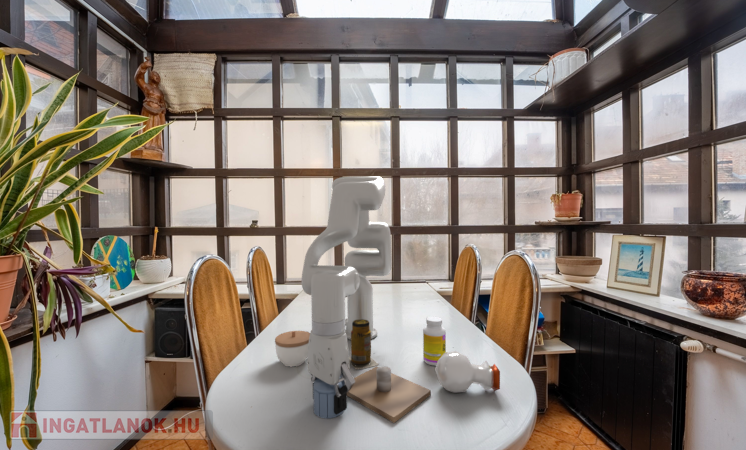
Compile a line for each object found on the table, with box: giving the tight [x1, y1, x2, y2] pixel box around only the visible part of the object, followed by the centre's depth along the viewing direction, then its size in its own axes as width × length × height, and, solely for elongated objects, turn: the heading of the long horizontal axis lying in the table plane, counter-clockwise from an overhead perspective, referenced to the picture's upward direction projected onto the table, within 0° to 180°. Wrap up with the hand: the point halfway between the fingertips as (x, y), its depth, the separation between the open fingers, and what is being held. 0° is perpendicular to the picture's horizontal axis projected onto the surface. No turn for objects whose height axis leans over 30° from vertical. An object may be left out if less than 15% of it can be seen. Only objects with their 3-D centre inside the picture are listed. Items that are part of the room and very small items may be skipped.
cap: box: [312, 377, 345, 419], centre depth 69 cm, size 7×7×6 cm
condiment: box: [349, 319, 379, 371], centre depth 92 cm, size 7×8×12 cm
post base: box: [347, 365, 432, 423], centre depth 75 cm, size 18×14×6 cm
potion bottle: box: [434, 350, 501, 394], centre depth 76 cm, size 9×10×15 cm
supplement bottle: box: [422, 316, 447, 367], centre depth 92 cm, size 7×7×13 cm
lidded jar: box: [274, 330, 310, 368], centre depth 92 cm, size 11×11×9 cm
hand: (329, 403), depth 69 cm, fingers closed on cap, 7 cm apart
